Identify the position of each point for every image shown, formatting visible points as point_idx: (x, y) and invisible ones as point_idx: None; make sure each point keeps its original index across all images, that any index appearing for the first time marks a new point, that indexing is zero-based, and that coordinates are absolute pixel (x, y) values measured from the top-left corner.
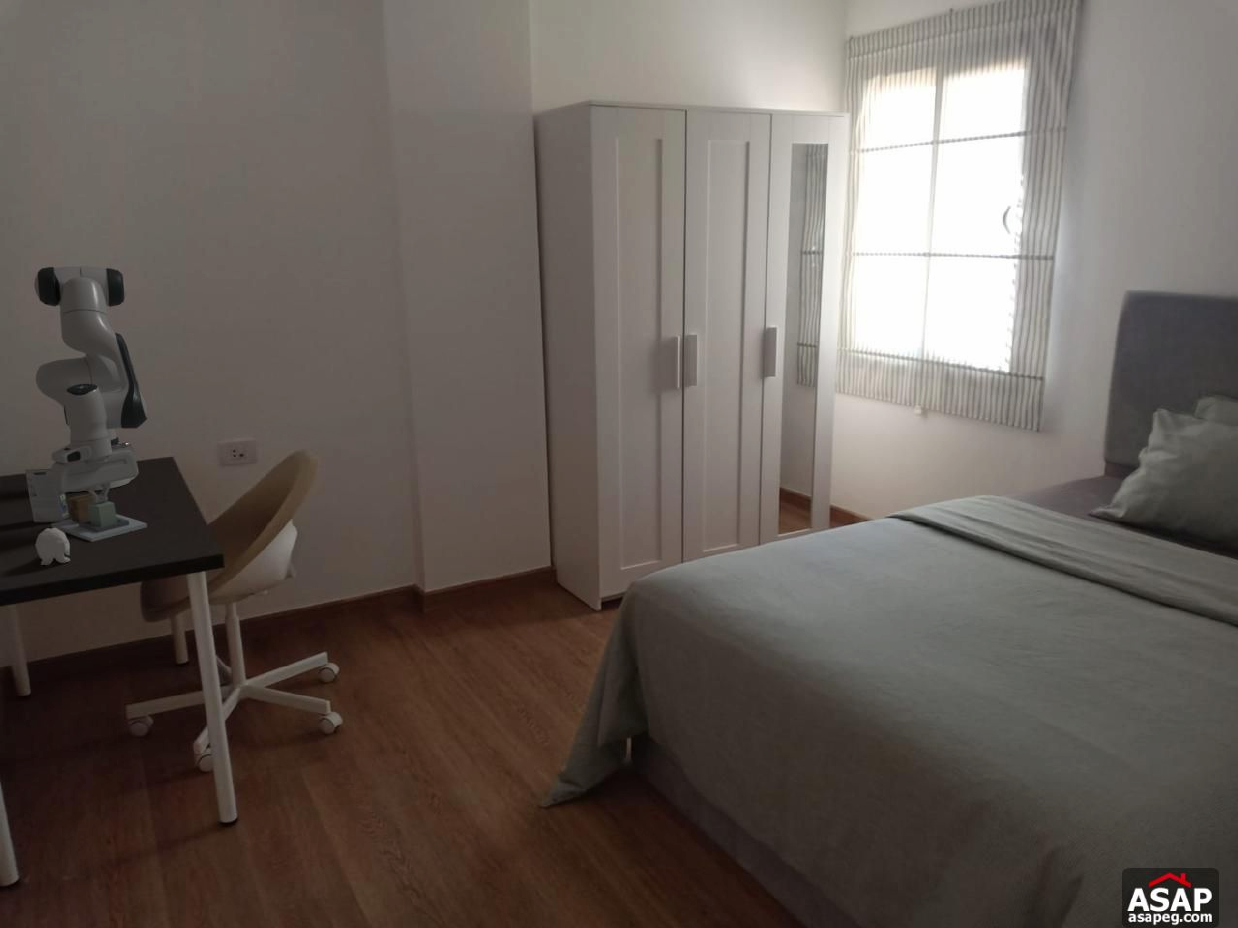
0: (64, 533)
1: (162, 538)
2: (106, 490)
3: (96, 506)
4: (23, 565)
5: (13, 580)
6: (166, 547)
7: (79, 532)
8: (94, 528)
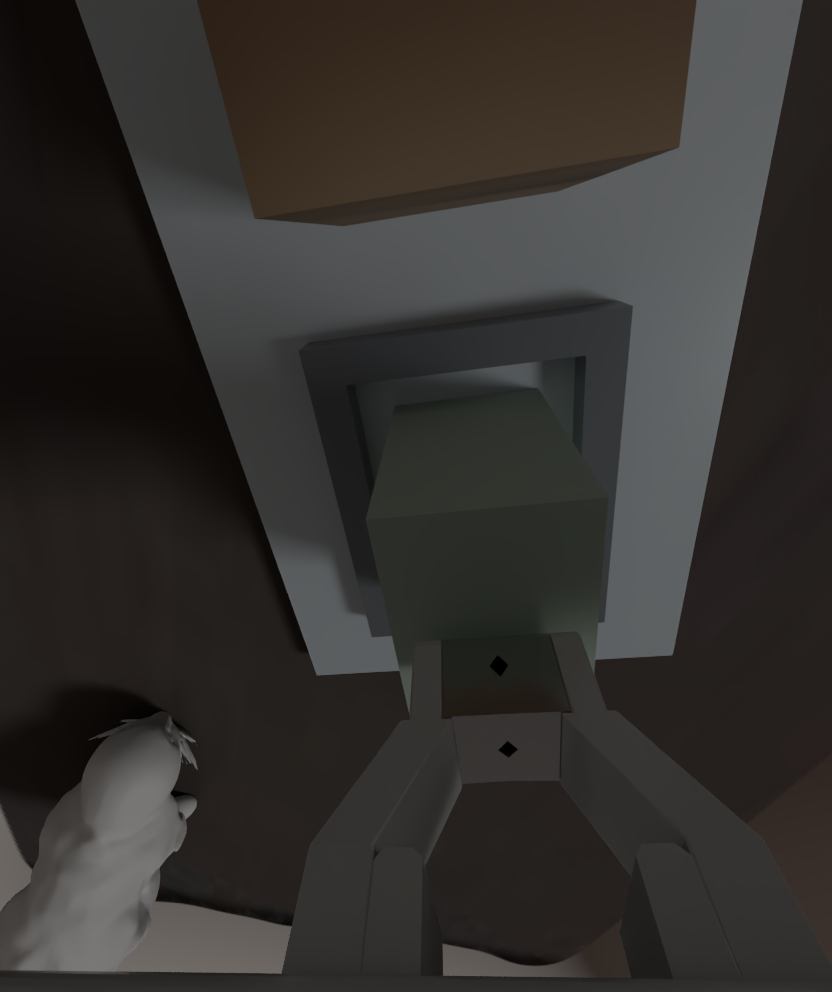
0: (124, 955)
1: (577, 806)
2: (620, 848)
3: (408, 701)
4: (16, 731)
5: (15, 823)
6: (521, 873)
7: (278, 526)
8: (364, 604)
